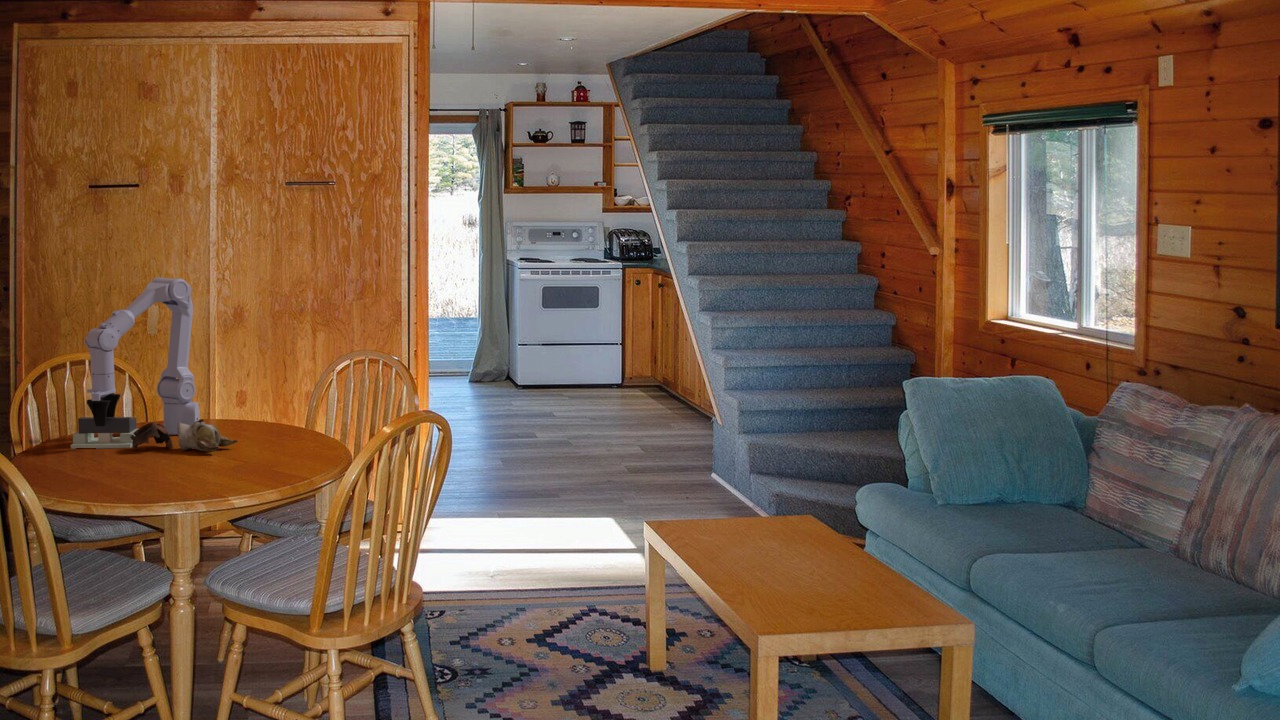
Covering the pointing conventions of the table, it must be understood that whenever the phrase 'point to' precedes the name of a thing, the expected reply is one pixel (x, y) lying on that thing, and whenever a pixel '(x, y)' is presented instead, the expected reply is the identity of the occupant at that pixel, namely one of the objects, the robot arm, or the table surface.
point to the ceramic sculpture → (201, 437)
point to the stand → (102, 440)
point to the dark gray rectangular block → (107, 425)
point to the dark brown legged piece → (153, 431)
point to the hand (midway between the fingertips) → (104, 423)
